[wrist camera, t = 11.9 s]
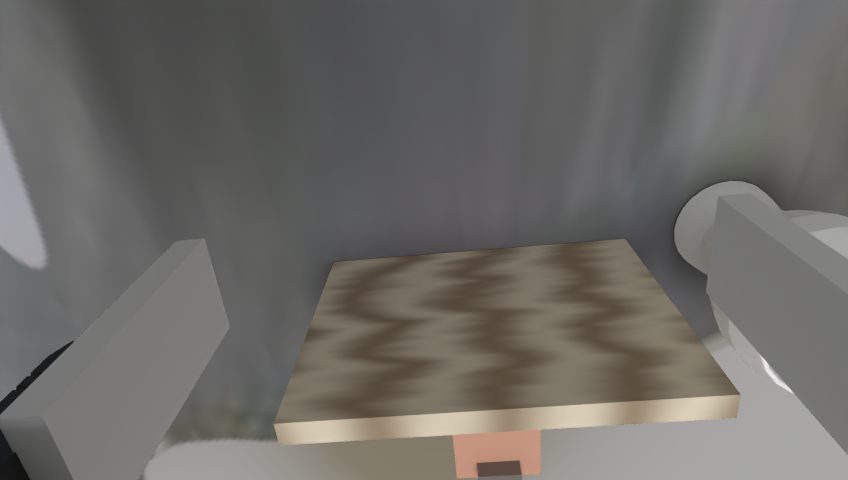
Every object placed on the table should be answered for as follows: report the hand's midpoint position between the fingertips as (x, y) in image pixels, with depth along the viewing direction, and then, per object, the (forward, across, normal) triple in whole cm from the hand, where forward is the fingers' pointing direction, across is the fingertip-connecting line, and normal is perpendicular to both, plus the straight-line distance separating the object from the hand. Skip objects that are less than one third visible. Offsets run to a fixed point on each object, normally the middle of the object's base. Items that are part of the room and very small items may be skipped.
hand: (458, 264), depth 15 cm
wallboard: (+29, +2, -16) cm, 33 cm away
